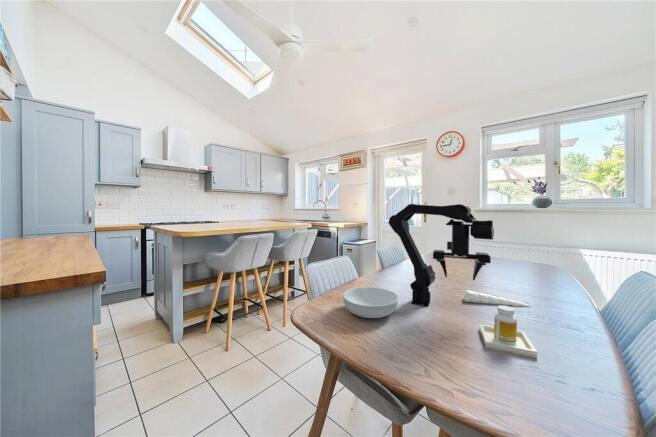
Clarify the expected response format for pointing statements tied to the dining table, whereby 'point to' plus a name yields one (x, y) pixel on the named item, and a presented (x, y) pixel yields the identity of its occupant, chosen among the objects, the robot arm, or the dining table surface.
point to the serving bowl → (370, 301)
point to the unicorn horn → (489, 299)
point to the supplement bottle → (505, 325)
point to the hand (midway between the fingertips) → (459, 278)
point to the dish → (519, 348)
